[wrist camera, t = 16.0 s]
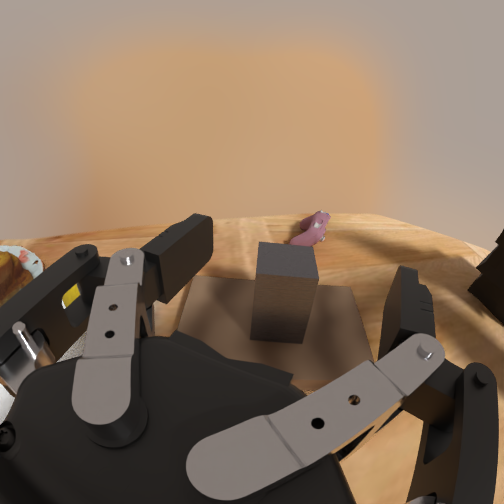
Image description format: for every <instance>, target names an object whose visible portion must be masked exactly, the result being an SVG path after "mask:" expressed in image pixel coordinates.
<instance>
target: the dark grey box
mask: <svg viewBox="0 0 504 504" xmlns="http://www.w3.org/2000/svg"><path fill="white" fill-rule="evenodd" d="M318 281H319V276H318V271H317V265H316V260H315V255H314V250H313V247H310V246H299V245H289V244H279V243H268V242H259V247H258V258H257V268H256V279H255V289H254V300H253V310H252V321H251V331H250V340H255V341H267V342H280V343H294V344H302V343H303V340H304V336H305V332H306V329H307V325H308V321H309V317H310V313H311V310H312V306H313V302H314V298H315V294H316V290H317V285H318Z"/></svg>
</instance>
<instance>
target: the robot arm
mask: <svg viewBox="0 0 504 504" xmlns="http://www.w3.org/2000/svg"><path fill="white" fill-rule="evenodd" d="M212 253H213V220H212V218H211V217H209V216H205V215H200V214H196V213H195V214H193V215H191V216H190V217H189V218H187V219H186V220H184V221H182V222H179V223H177V224H174V225H172V226H170V227H169V228H167V229H166V230H165V231H164V232H162V233H161V234H159V236H157V237H155V238H154V239H152V240H151V241H150V242H148V243H147V244H146V245H144V246H143V247H142V248H140V249H136V248H126V249H122V250H119V251H117V252H116V253H114V254H113V255H112V256H111V257H100V256H99V255H98V250H97V247H96V246H94V245H91V244H85V245H80V246H78V247H75V248H74V249H72V250H71V251H69V252H68V253H67V254H65V255H64V256H63V257H61V258H60V259H59V260H57V261H56V262H55V263H53V264H52V265H51V266H50V267H48V268H47V269H46V270H44V271H43V272H42V273H41V274H39V275H38V276H37V277H36V278H34V279H33V280H32V281H31V282H30V283H28V284H27V285H26V286H25V287H23V288H22V289H21V290H20V291H19V292H17V293H16V294H15V295H14V296H13V297H12V298H10V299H9V300H8V301H7V302H6V303H5V304H4V305H2V306H1V307H0V384H2V385H3V386H4V388H5V389H6V390H7V391H8V392H9V393H10V395H11V396H13V397H15V400H14V402H13V405H12V407H11V409H10V411H9V413H8V415H7V417H6V418H5V420H4V422H3V423H2V424H1V425H0V504H356V502H355V499H354V497H353V494H352V492H351V490H350V487H349V485H348V482H347V480H346V477H345V475H344V473H343V470H342V468H341V465H340V463H341V462H342V461H344V460H345V459H347V458H348V457H349V456H351V455H352V454H353V453H355V452H356V451H357V450H358V449H360V448H361V447H362V446H363V445H364V444H365V443H367V442H368V441H369V440H370V439H371V438H373V437H374V436H375V435H376V434H378V433H379V432H380V431H381V430H382V429H384V428H385V427H386V426H387V425H389V424H390V423H391V422H392V421H393V420H394V419H396V418H397V417H398V416H399V415H400V414H401V413H402V412H403V411H407V412H408V413H410V414H412V415H414V416H415V417H417V418H419V419H421V420H423V421H424V422H423V429H422V435H421V441H420V446H419V451H418V456H417V461H416V465H415V470H414V474H413V478H412V482H411V486H410V490H409V493H408V497H407V500H406V503H405V504H493V500H494V493H495V485H496V476H497V464H498V442H499V418H498V396H497V383H496V379H495V376H494V374H493V373H492V371H491V370H490V369H489V368H488V367H487V366H485V365H483V364H481V363H475V362H474V363H471V364H469V365H467V367H466V368H465V369H462V368H460V367H458V366H456V365H455V364H453V363H451V362H449V361H448V360H447V359H445V351H444V348H443V346H442V345H441V343H440V342H439V341H438V340H437V339H436V335H435V322H434V314H433V312H434V311H433V306H432V305H433V302H432V295H431V293H430V291H429V290H428V288H427V286H426V285H422V284H419V281H418V271H417V270H415V269H412V268H408V267H405V266H401V265H400V266H399V267H398V270H397V272H396V275H395V278H394V280H393V283H392V286H391V288H390V291H389V294H388V296H387V299H386V302H385V306H384V312H383V321H382V330H381V339H380V346H379V353H378V360H377V362H376V363H373V362H372V361H371V360H367V361H365V362H363V363H361V364H360V365H358V366H357V367H355V368H354V369H352V370H350V371H349V372H347V373H346V374H344V375H342V376H341V377H339V378H337V379H336V380H334V381H332V382H331V383H329V384H327V385H326V386H324V387H322V388H320V389H319V390H317V391H315V392H313V393H312V394H310V395H308V396H307V395H306V394H305V393H304V392H303V391H301V390H300V389H299V388H297V387H296V386H294V385H293V384H291V382H292V379H293V375H294V374H292V373H289V372H286V371H283V370H280V369H277V368H274V367H271V366H268V365H265V364H262V363H254V362H247V361H240V360H234V359H228V358H226V357H224V356H223V355H221V354H220V353H218V352H217V351H216V350H214V349H213V348H211V347H210V346H208V345H207V344H206V343H204V342H203V341H201V340H199V339H196V338H194V337H192V336H189V335H187V334H184V333H182V332H180V331H177V330H175V331H174V333H173V334H172V335H171V336H170V337H162V336H155V332H154V305H153V303H154V302H155V301H156V300H158V301H160V302H162V303H165V304H167V303H168V302H169V301H170V300H171V299H172V298H173V297H174V296H175V295H176V294H177V293H178V292H179V291H180V290H181V289H182V288H183V287H184V286H185V285H186V284H187V283H188V282H189V281H190V280H191V279H192V278H193V277H194V276H195V275H196V274H197V273H198V272H199V271H200V270H201V268H202V267H203V266H204V265H205V264H206V263H207V262H208V261H209V260H210V258H211V256H212ZM75 284H76V285H77V287H78V290H79V293H80V295H79V296H78V297H77V298H76V299H75V300H74V301H73V302H72V303H71V304H70V305H69V306H67V307H66V308H65V309H63V306H62V298H63V296H64V294H65V293H66V292H67V291H69V290H70V289H71V288H72V287H73V286H74V285H75ZM86 330H87V334H86V339H85V345H84V351H83V355H82V356H79V357H75V358H72V359H68V360H65V361H61V362H57V361H58V360H59V359H60V358H61V357H62V356H63V355H64V353H65V352H66V351H67V350H68V349H69V348H70V347H71V346H72V345H73V344H74V343H75V342H76V341H77V340H78V339H79V337H80V336H81V335H82V334H83V333H84V332H85V331H86ZM56 362H57V363H56Z"/></svg>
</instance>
